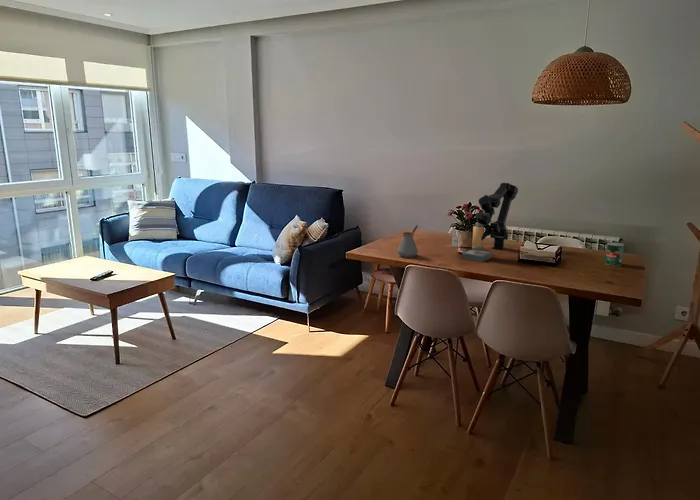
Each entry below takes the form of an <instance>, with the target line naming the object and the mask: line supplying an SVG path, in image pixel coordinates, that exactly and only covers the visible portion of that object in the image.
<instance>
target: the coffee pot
mask: <svg viewBox="0 0 700 500" xmlns="http://www.w3.org/2000/svg"><path fill="white" fill-rule="evenodd" d="M418 228H419V225H418V224H416V225H415V226H414V228H413V230H412V232H409V231H408V232H405V231H404V232H402V233H401V234H402V239H401V241H400V243H399V246H398V248H397V251H396V252H397V254H398V255H399V256H400V255H401V256H403V257H402V258H407V257H410V258H414V257H415V256H416V255H418V253H419V250H418V247H417V245H416V243H415V239H414V236H415V232H416V231H417V229H418ZM401 256H400V257H401Z"/></svg>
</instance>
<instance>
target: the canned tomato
mask: <svg viewBox="0 0 700 500" xmlns="http://www.w3.org/2000/svg"><path fill="white" fill-rule="evenodd" d="M624 247H625V244H624V243H621V242H615V241H614V242H613V241H609V242H607V243H606V249H605V256H604V257H605V258H604V263H605V264H604V265H606V264H607V266H609V265H612V266H611V267H622V261H623V255H624Z"/></svg>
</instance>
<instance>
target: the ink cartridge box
mask: <svg viewBox="0 0 700 500" xmlns="http://www.w3.org/2000/svg"><path fill="white" fill-rule="evenodd" d="M451 240H452V246H455V247H454V248H457V247H456V246H457V237H456V233H455V231H454V229H453V228H452V239H451Z"/></svg>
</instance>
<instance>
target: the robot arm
mask: <svg viewBox="0 0 700 500" xmlns="http://www.w3.org/2000/svg"><path fill="white" fill-rule="evenodd" d="M518 191H519V187H517V186H516V185H513V184H511V183H508V182H501V183H500V184H499V186H498V188H497V189H496V191H494V193H493V194H490V195H487V194H484V196H482V197H480V198H479V199H478V204H479V207H480V209H481V210H482V212H476V213H475V216H474V219H475V220H476V222H477V223H480V224H482V226H483V227H484V234H483V236H482V240H483V241H484V240H485V239H486V238H487V237H488V236H490V238H491V239H493V246H491V247H490V248H491V249H494V250H504V249H506V247H505V246H504V245H505V240H508V238H509V234H508V231H507V229H508V228H507V225H506V221H507V219H508V218H507V217H508V214H509V211H510V209H511V208H510V207H511V204H512V201H514V199H516V196H517V194H518ZM502 198H503V199H502ZM501 200H502V203H501ZM500 205H501V206H500ZM499 207H500V209H499V213H498V216H497V219H496V221H493V222H492V218H493V215H495V214H496V212H495V209H496V208H499ZM476 222H475V224H477V223H476ZM475 224H469V226H470V227H471V230H470V231H471V235H470V236H471V238H470V239H472V240H473V226H475Z"/></svg>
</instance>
